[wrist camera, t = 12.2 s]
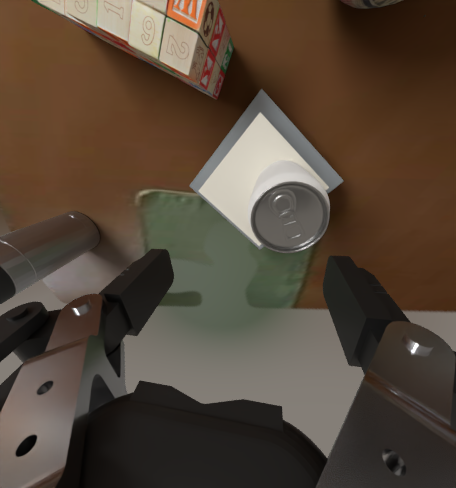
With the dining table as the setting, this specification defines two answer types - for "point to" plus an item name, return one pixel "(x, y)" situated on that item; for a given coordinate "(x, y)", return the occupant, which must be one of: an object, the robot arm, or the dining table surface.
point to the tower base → (283, 130)
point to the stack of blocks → (160, 34)
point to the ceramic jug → (370, 3)
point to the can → (288, 208)
